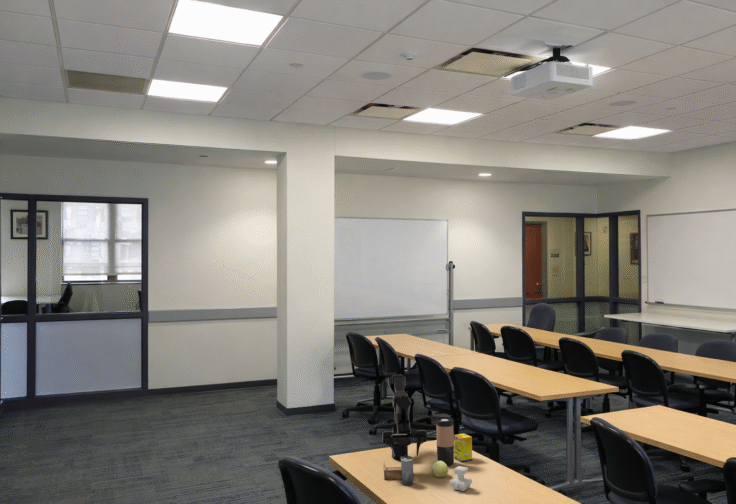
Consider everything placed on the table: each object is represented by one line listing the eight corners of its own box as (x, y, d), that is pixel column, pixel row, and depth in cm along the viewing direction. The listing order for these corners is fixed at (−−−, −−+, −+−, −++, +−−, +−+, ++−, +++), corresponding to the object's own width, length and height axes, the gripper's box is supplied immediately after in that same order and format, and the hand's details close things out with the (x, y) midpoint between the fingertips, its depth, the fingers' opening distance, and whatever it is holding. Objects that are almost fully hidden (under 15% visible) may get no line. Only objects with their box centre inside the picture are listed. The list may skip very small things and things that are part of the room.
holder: (383, 470, 258) (383, 461, 258) (408, 469, 258) (408, 461, 258) (384, 479, 247) (384, 470, 247) (410, 478, 247) (410, 470, 247)
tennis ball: (448, 458, 252) (433, 457, 253) (446, 466, 245) (430, 464, 247) (449, 472, 252) (433, 471, 254) (447, 480, 246) (431, 479, 248)
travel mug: (454, 461, 267) (453, 416, 268) (454, 467, 260) (453, 421, 260) (436, 461, 268) (435, 416, 269) (437, 467, 261) (436, 421, 261)
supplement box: (454, 458, 271) (453, 434, 271) (465, 456, 273) (464, 433, 274) (461, 462, 265) (460, 438, 266) (472, 460, 268) (472, 436, 268)
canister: (410, 480, 245) (409, 454, 246) (415, 484, 241) (415, 458, 241) (399, 482, 244) (398, 456, 244) (404, 486, 239) (403, 460, 239)
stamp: (458, 483, 241) (458, 463, 241) (473, 487, 237) (473, 466, 237) (448, 491, 233) (447, 469, 233) (463, 494, 229) (463, 472, 230)
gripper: (423, 430, 262) (427, 464, 251) (380, 431, 261) (383, 465, 250) (425, 417, 254) (429, 451, 243) (381, 418, 253) (384, 452, 242)
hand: (406, 455), depth 245 cm, fingers open, 9 cm apart
